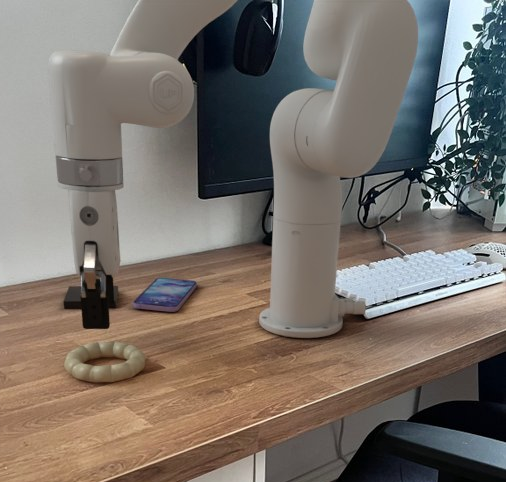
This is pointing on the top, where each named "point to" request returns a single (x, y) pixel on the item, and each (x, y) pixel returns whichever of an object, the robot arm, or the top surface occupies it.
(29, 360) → the top surface
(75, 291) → the peg stand
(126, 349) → the segmented ring
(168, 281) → the smartphone
